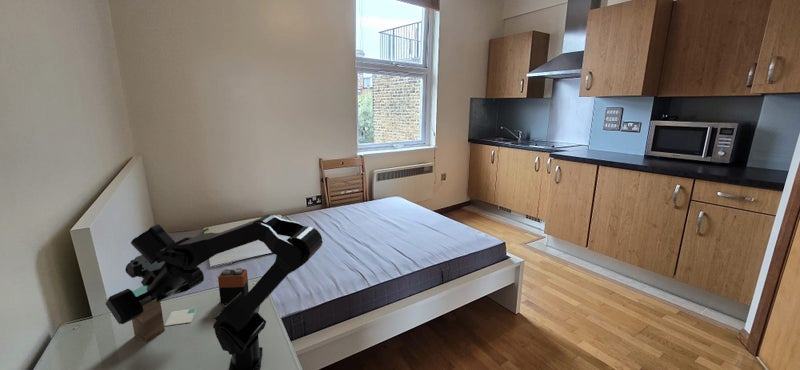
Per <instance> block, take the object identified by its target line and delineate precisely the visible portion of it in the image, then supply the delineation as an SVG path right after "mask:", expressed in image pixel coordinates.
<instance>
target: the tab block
mask: <svg viewBox="0 0 800 370" xmlns="http://www.w3.org/2000/svg"><path fill="white" fill-rule="evenodd" d="M132 292H133V293H134V295H135V296H136V297H137V296H139V295H141V294H144V293H146V292H147V286H141V287H138V288H136V289H134V290H132ZM149 298H150V297H149ZM147 299H148V298H147ZM145 300H146V299H145ZM143 301H144V300H143ZM141 302H142V301H141ZM161 302H162V301H160V302H157V300H154V301H152V302H150V303H148V304H146V305H144V306H143V311H144V312H143V313H142V314H141V315H140V316H138V317H136V318H134V319H132V320H131V323H132V328H133V329H132V330H133V335H134V337H135V338H138V339H140V340H142V341H144V342H148V341H149V340H151V339H153V338H155V337H157V336H158V335H159V334H162V333H164V332H166V331H165V330H166V328H165V326H164V325H165V323H164V316H163V309H162V304H161Z"/></svg>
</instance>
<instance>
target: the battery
mask: <svg viewBox="0 0 800 370" xmlns="http://www.w3.org/2000/svg"><path fill="white" fill-rule="evenodd" d="M217 282H218V291H219V301H220V305H227V304H228V303H229V302H230V301H232V300H233V299H234V298H235V297H236V296H237V295H238V294H240V293H242V294H243V295H244V296H246V295H247V294H248V293H249V291H250V290H249V280H248V270H247V269H245V268H244V269H243V268H241V267H239V268H235V269H227V268H226V269H223V270H222V271H221V272H220V274H219V275H218V276H217Z"/></svg>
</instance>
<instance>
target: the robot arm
mask: <svg viewBox="0 0 800 370" xmlns="http://www.w3.org/2000/svg"><path fill="white" fill-rule="evenodd" d="M281 236H283V237H284V236H285V237H288V238H287V239H285V238H282V237H281ZM256 241H260V242H262V243H263V244H264V245H265V246H266V247H267V248H268V249H269V250H270V252H271V253H272V254H274V255H275V261H274V263H273V264H272V265H271V267H270V268H268V269H267V271H265V273H264V274H263V276H261V278H259V280H258V281H257V282H256V283H255V285H253V286H252V288H251V289H250V290H249V293H248V294H247V295H246V296H244V295H243V294H242V293H240V294H238V295H237V296H236V297H235V298H234V299H233V300H232V301H230V302H229V303H228V304H225V306H223V308H222V309H221V311H220V312H219V313H218V314H217V315H216V316H214V318H213V320H214V322H213V325H212V327H213V329H214V334H215V336H216V338H217V341H218V344H219V345H220V347H221V349H222V351H226V352H227V353H228V354H229V355H231V359H230V364H229V368H228V370H260V369H261V367H262V360H263V351H264V349H263V347H261V346H260V341H259V339H260V338H259V334H260V333H261V332H262V331H263V330H264V329H265V327H266V324H267V320H265V319H264V317H262V315H261V314H260V313H259V312H260V308H261V305H262V304H263V303H264V302H265V301H266V300H267V299H268V298H269V297H270V296H271V294H272V293H273V292H274V291H275V290H276V289H277V288H278V286H279V285H280V284H282V282H283V281H284V280H285V279H286V278H287V276H288V275H289V274H291V273H293V272H295V271H296V270H298V269H299V268H300V267H302V266H303V265H305V264H306V263H307V262H309V260H310V259H311V258H312V257H313V256H314V255H315V254H316V253H317V251H318V250H320V249H321V247H322V246H323V238H322V235H321V233H320V232H319V230H318V229H316V228H314V227H313V226H307V225H305V224H303V223H301V222H298V221H294V220H288V219H284V218H281V217H278V216H277V215H274V214H265V215H263V216H261V217H260V218H257V219H254V220H252V221H249V222H247V223H243V224H240V225H238V226H235V227H233V228H229V229H227V230H224V231H221V232H216V233H215V232H206V233H199V234H197V235H195V236H192V237H191V236H190V237H184V238H182V239H179V240H177V241H176V242H175V240H174V239H173V238H172V237H171V235H169V233H167V232H166V230H164V227H162V226H161V225H160V224H159V223H157V224H155V225H152V226H150V227H149V229H147V230H145V231H144V232H142V233H141V234H139V235H138V236H136V237H134V238H133V239H132V240H131V242H130V244H131V246H132V247H133V248H134V249H136V251H138V252H139V254H140V255H138V256H136V257H134V259H132V260H130V261H129V263H127V264H126V266H125V273H126V274H127V275H128V276H129V277H130V278H132V279H134V278H136V277H139V278H141V279H142V280H141V281H140V283H141V285H143V286H147V292H146V293H144V294H141V295H139V296H137V297H136V296H135V295H134V293H133V292H132V291H133V290H132V289H130V288H126V289H124V290H122V291H119V292H118V293H114V294H113V295H110V296H109V297H108V299H107V300H106V302H105V306H106V308H107V309H108V310H109V311H110V313H111V315H112V316H113V318H114V319H115V320H116V322H117V323H118V324H119V325H124V324H126V323H128V322H131V321H132V319H134V318H136V317H138V316H140V315H141V314H142V313H143V312H144V311H143V306H144V305H146V304H148V303H150V302H152V301H154V300H157V302H162V301H165V300H166V299H167V298H170V297H171V296H175V295H179V294H182V293H185V292H187V291H189V290H191V289H193V288H195V287H196V286H198V285H201V284H202V283H203V281H204V280H205V275H204V271H203V270H202V269H201V267H199V266H200V265H201V264H202V263H203V264H204V263H205V262H207V261H208V260H209V259H211V258H213V257H214V256H216V255H219V254H221V253H224V252H227V251H229V250H230V251H231V250H233V249H235V248H238V247H242V246H245V245H248V244H250V243H253V242H256ZM149 297H150V298H149ZM147 298H148V299H147ZM145 299H146V300H145ZM143 300H144V301H143ZM141 301H142V302H141Z"/></svg>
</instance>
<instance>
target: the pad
mask: <svg viewBox="0 0 800 370" xmlns="http://www.w3.org/2000/svg"><path fill="white" fill-rule="evenodd" d="M197 310H198V309H197V308H190V309H189V308H188V309H181V310H174V311H171V312H170V314H169V316H168V318H167V320H166V321H165V323H164V327H170V326H176V325H184V324H191V323H192V321H193V320H194V319H193V318H194V317H195V314H196V312H197Z"/></svg>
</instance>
